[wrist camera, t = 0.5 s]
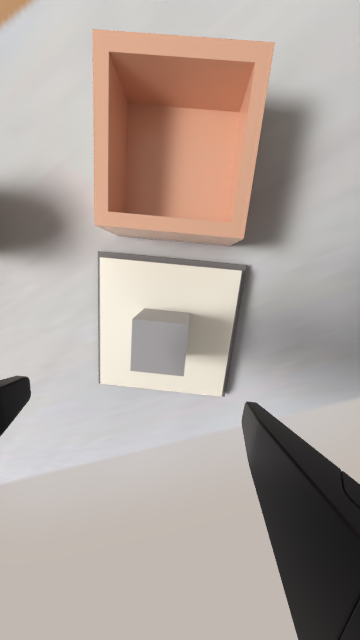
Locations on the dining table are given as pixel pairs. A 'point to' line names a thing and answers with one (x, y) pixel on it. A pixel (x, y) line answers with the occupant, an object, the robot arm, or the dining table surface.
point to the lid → (166, 325)
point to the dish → (176, 134)
